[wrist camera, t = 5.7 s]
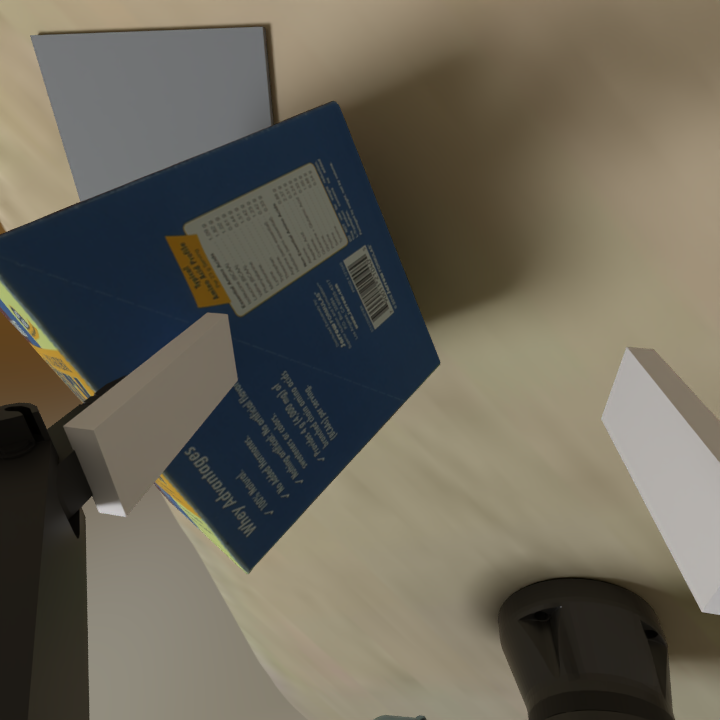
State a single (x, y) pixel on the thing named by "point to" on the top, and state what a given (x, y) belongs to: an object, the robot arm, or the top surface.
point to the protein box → (237, 314)
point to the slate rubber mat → (152, 97)
